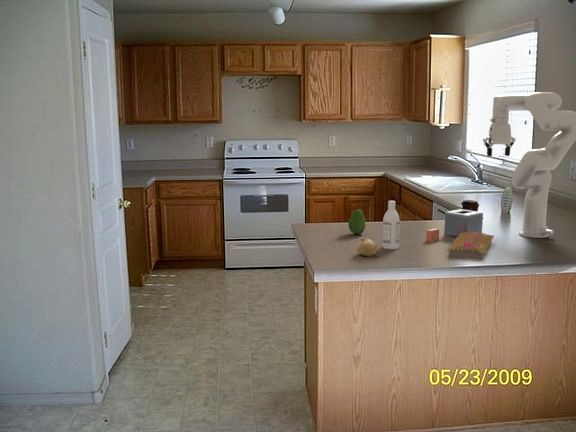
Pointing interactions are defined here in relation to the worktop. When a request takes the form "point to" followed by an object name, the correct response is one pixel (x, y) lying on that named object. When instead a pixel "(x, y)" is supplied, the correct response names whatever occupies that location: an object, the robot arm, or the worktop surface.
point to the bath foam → (391, 227)
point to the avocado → (357, 222)
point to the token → (432, 235)
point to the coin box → (462, 222)
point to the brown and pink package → (470, 245)
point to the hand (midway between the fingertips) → (498, 155)
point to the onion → (366, 247)
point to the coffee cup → (470, 205)
